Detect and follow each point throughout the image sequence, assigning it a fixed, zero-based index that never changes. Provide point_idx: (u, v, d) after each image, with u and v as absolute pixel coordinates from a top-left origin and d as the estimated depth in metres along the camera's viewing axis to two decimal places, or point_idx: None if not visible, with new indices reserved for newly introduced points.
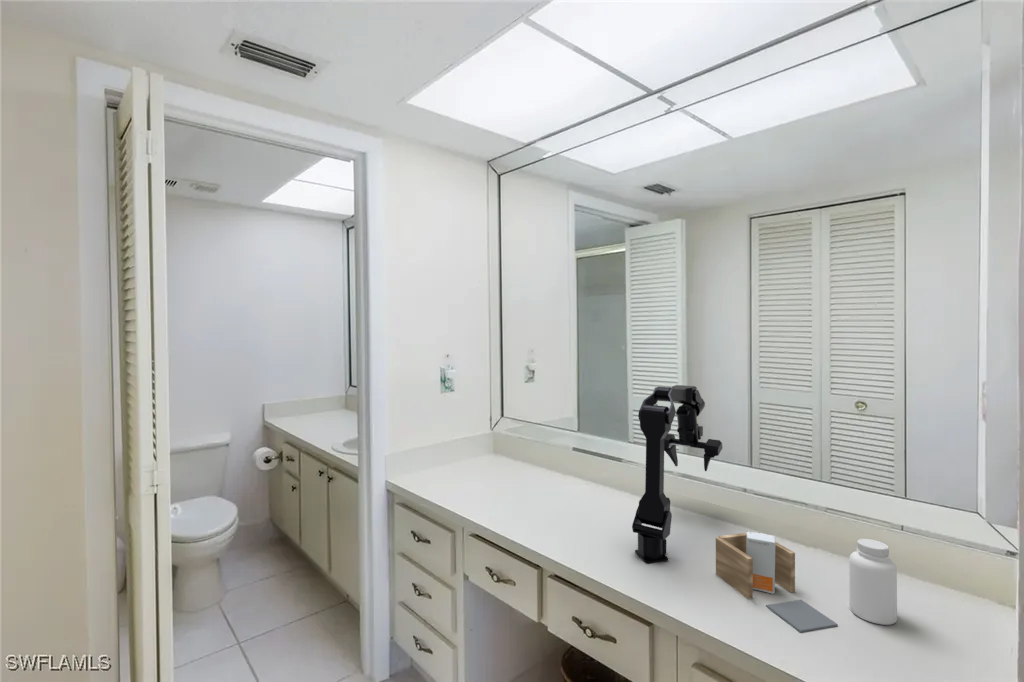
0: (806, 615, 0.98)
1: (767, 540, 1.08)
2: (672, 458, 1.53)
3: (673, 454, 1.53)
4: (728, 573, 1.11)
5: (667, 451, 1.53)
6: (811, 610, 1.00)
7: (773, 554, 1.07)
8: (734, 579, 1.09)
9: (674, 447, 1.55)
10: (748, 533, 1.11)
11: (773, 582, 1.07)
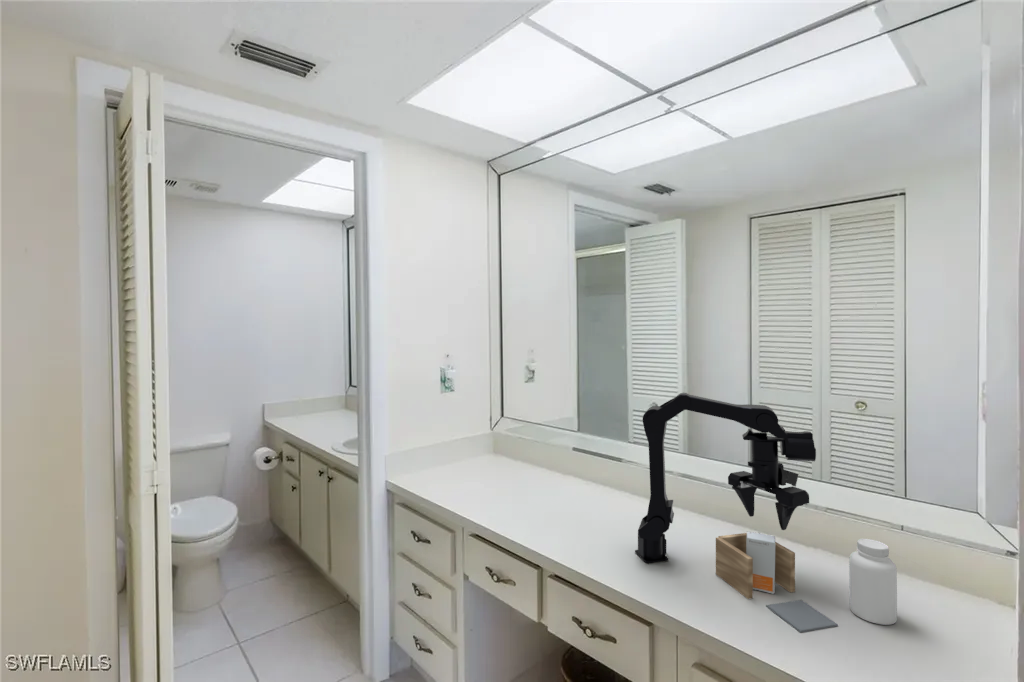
0: (806, 615, 0.98)
1: (767, 540, 1.08)
2: (743, 502, 1.19)
3: (746, 497, 1.19)
4: (728, 573, 1.11)
5: (737, 490, 1.19)
6: (811, 610, 1.00)
7: (773, 554, 1.07)
8: (734, 579, 1.09)
9: (751, 490, 1.19)
10: (748, 533, 1.11)
11: (773, 582, 1.07)
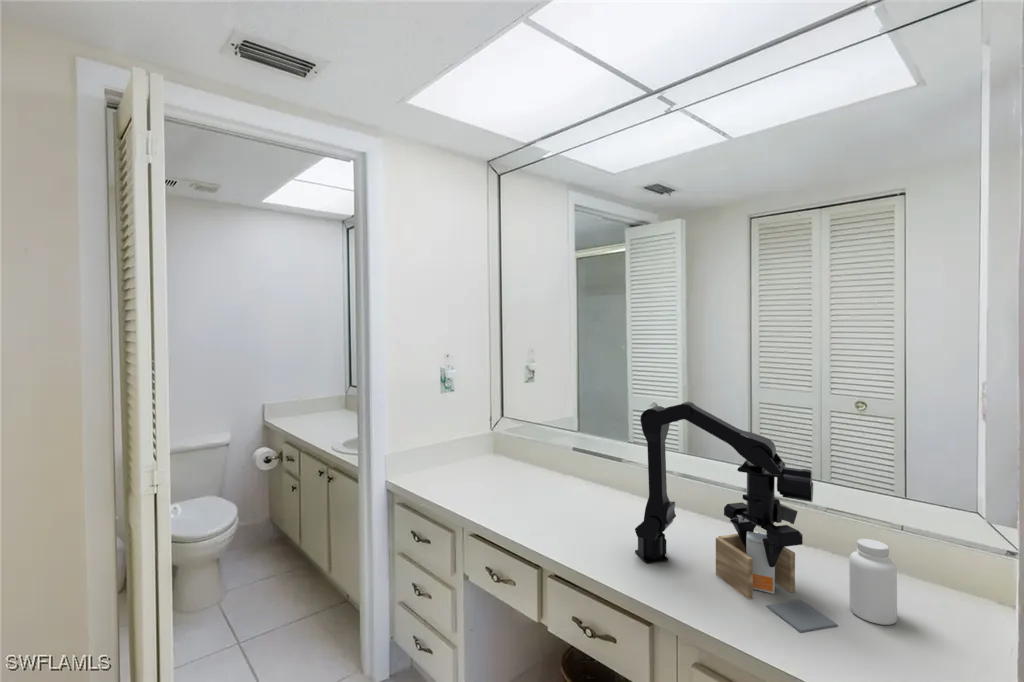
0: (806, 615, 0.98)
1: None
2: (741, 537, 1.13)
3: (743, 533, 1.13)
4: (728, 573, 1.11)
5: (734, 524, 1.14)
6: (811, 610, 1.00)
7: None
8: (734, 579, 1.09)
9: (750, 525, 1.14)
10: (748, 533, 1.11)
11: (773, 582, 1.07)
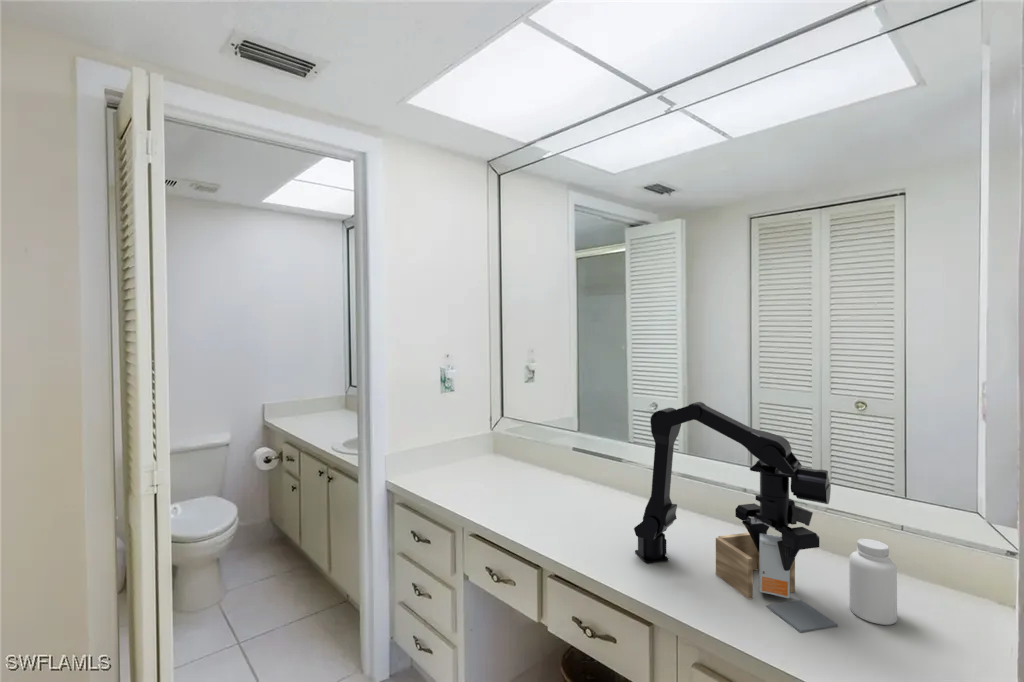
0: (806, 615, 0.98)
1: None
2: (754, 540, 1.09)
3: (756, 535, 1.09)
4: (728, 573, 1.11)
5: (747, 526, 1.10)
6: (811, 610, 1.00)
7: None
8: (734, 579, 1.09)
9: (763, 527, 1.10)
10: (761, 535, 1.07)
11: (788, 586, 1.03)
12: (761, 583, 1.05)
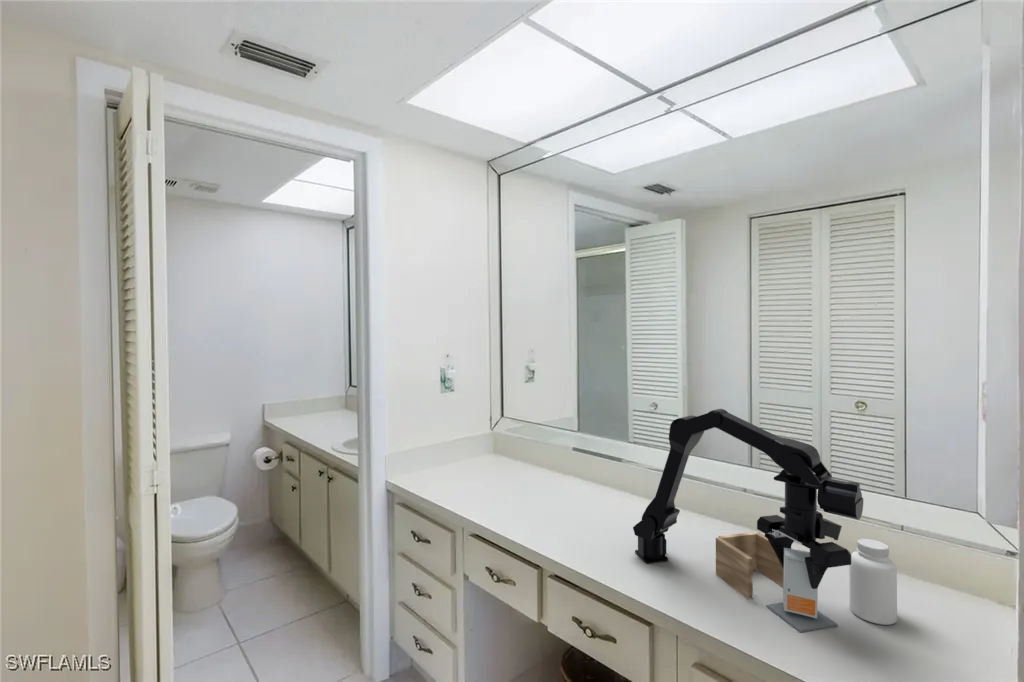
0: None
1: None
2: (777, 554, 1.02)
3: (780, 549, 1.02)
4: (728, 573, 1.11)
5: (770, 540, 1.03)
6: None
7: None
8: (734, 579, 1.09)
9: (787, 541, 1.03)
10: (786, 550, 1.00)
11: (816, 605, 0.96)
12: (786, 601, 0.98)
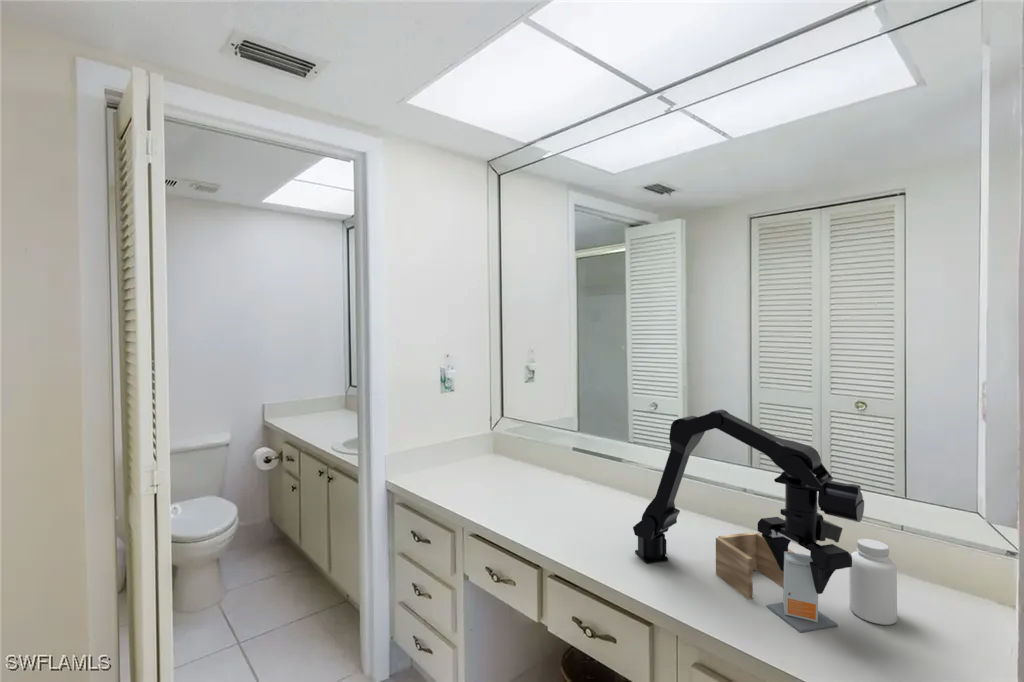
0: None
1: (809, 562, 0.97)
2: (774, 554, 1.03)
3: (777, 549, 1.03)
4: (728, 573, 1.11)
5: (767, 540, 1.04)
6: None
7: None
8: (734, 579, 1.09)
9: (784, 541, 1.04)
10: (786, 553, 1.00)
11: (816, 609, 0.96)
12: (786, 605, 0.98)
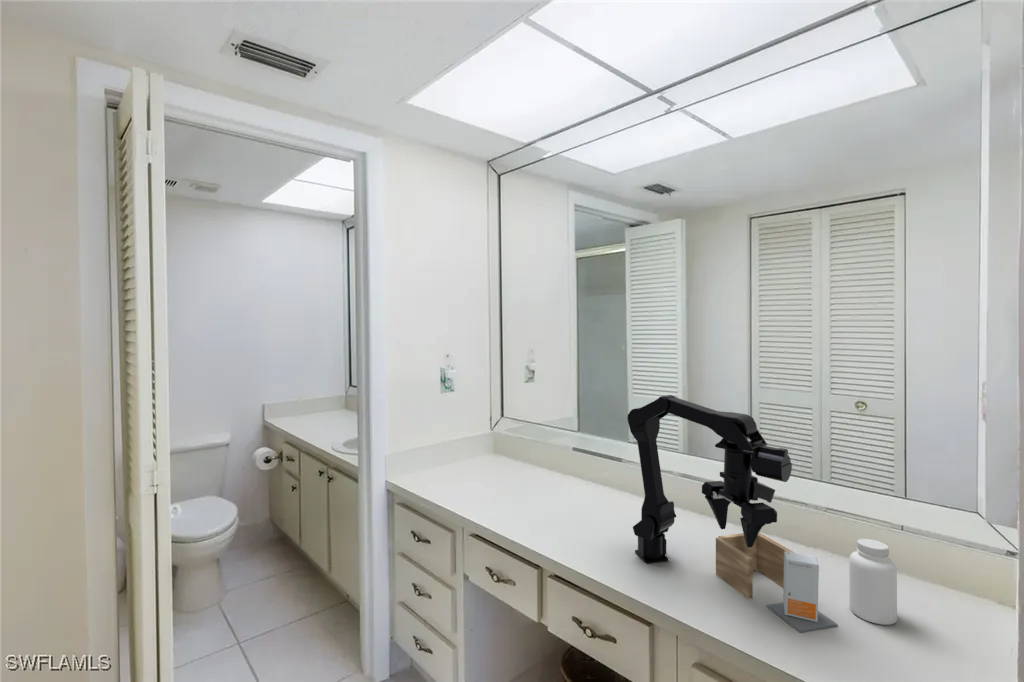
0: None
1: (809, 562, 0.97)
2: (715, 514, 1.13)
3: (717, 509, 1.12)
4: (728, 573, 1.11)
5: (708, 501, 1.13)
6: None
7: (816, 578, 0.96)
8: (734, 579, 1.09)
9: (724, 502, 1.13)
10: (786, 553, 1.00)
11: (816, 609, 0.96)
12: (786, 605, 0.98)
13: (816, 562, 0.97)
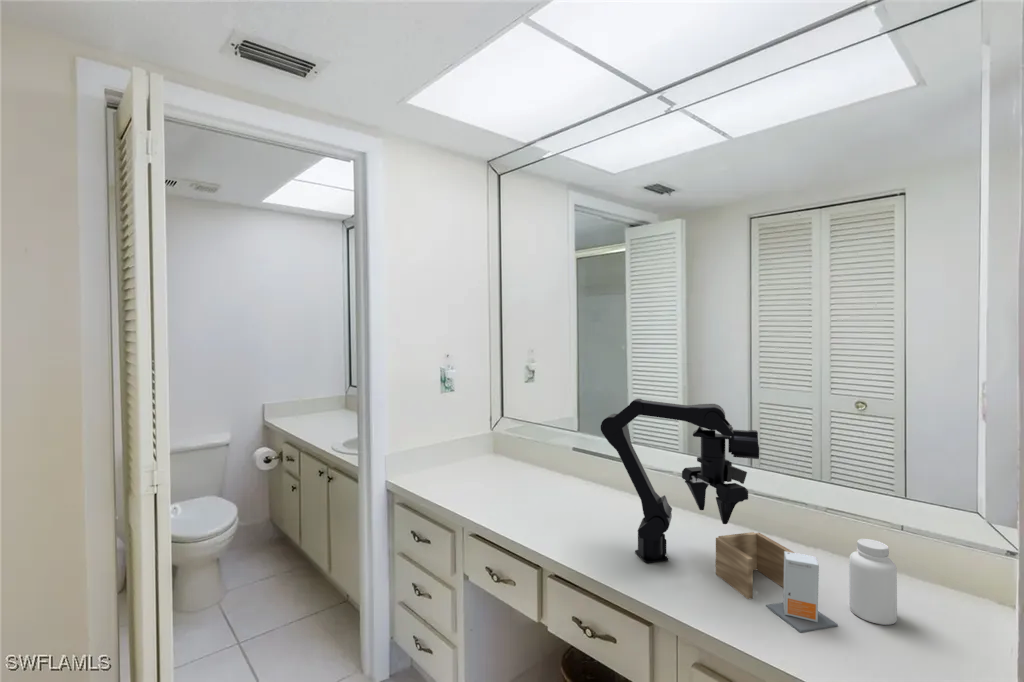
0: None
1: (809, 562, 0.97)
2: (694, 496, 1.23)
3: (696, 492, 1.23)
4: (728, 573, 1.11)
5: (688, 484, 1.24)
6: None
7: (816, 578, 0.96)
8: (734, 579, 1.09)
9: (702, 485, 1.24)
10: (786, 554, 1.00)
11: (816, 609, 0.96)
12: (786, 605, 0.98)
13: (816, 562, 0.96)
